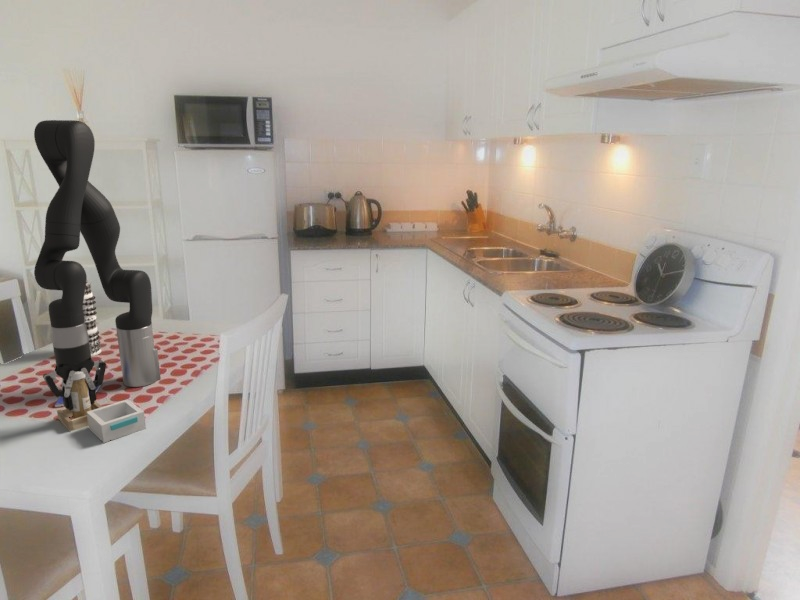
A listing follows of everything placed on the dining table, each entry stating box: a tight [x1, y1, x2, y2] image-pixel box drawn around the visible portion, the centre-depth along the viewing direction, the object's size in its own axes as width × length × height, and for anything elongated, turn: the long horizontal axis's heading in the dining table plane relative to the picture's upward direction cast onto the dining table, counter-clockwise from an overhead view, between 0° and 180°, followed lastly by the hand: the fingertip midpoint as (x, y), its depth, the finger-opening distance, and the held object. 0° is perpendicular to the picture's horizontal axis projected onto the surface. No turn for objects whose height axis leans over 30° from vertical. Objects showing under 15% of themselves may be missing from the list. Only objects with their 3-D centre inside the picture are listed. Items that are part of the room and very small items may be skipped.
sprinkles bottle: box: [70, 371, 91, 419], centre depth 137 cm, size 5×5×14 cm
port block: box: [87, 399, 147, 444], centre depth 134 cm, size 10×10×4 cm
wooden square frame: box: [56, 400, 103, 432], centre depth 139 cm, size 9×9×2 cm
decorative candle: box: [83, 279, 102, 357], centre depth 179 cm, size 9×9×25 cm
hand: (80, 405), depth 138 cm, fingers closed on sprinkles bottle, 4 cm apart
